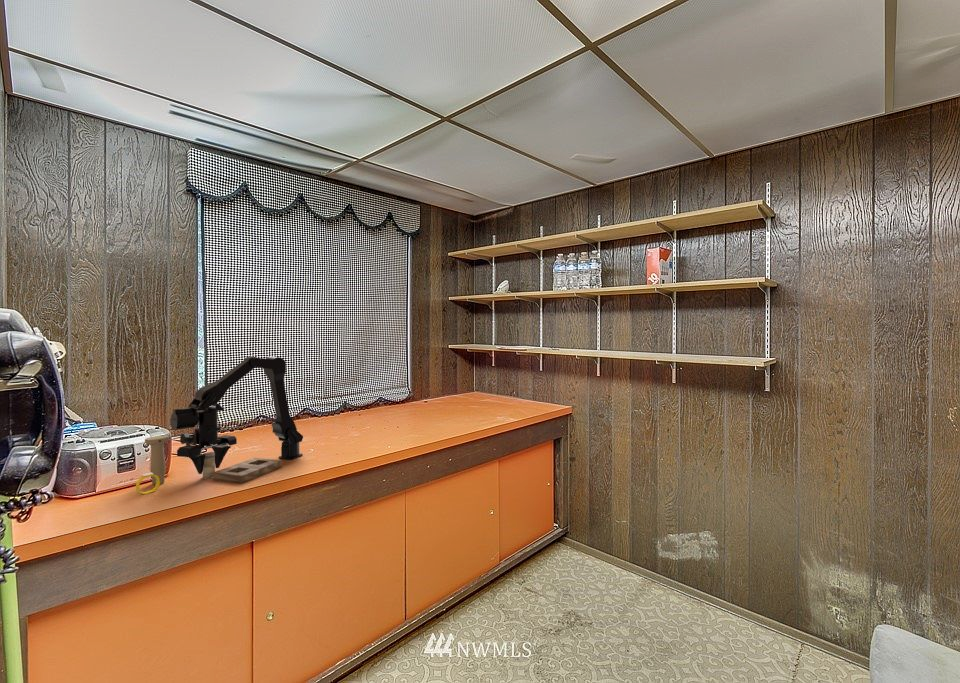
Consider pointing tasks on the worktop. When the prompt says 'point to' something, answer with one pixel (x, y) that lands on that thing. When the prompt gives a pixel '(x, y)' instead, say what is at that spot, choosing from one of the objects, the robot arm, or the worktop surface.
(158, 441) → the handle
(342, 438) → the worktop surface
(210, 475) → the pin
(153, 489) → the yellow round part
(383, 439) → the worktop surface
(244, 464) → the bore block
